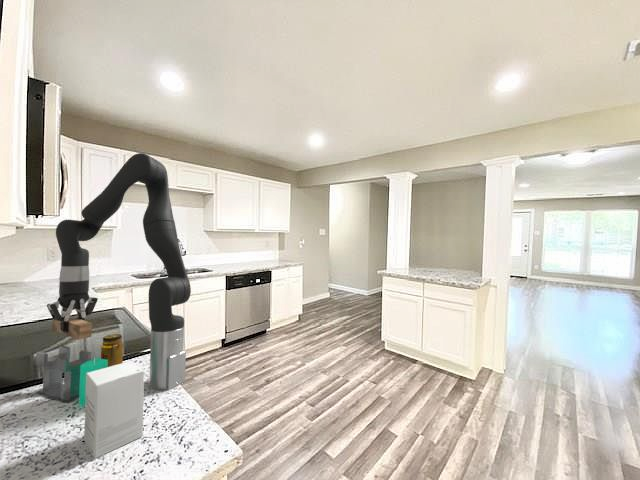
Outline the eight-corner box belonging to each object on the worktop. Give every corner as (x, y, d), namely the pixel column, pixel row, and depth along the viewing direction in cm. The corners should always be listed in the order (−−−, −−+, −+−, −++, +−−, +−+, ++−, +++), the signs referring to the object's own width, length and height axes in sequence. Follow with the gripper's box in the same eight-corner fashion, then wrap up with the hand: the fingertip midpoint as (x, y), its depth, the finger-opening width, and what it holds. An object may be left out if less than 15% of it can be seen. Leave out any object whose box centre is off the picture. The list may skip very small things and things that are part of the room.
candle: (90, 408, 74) (92, 362, 74) (72, 405, 75) (74, 360, 75) (112, 396, 79) (113, 354, 80) (94, 393, 81) (96, 352, 81)
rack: (90, 393, 81) (91, 352, 81) (64, 404, 75) (65, 360, 75) (60, 384, 86) (62, 345, 86) (34, 394, 80) (36, 352, 80)
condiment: (94, 373, 93) (95, 337, 94) (119, 363, 101) (120, 330, 102) (108, 377, 91) (109, 340, 91) (133, 367, 99) (134, 333, 99)
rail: (91, 336, 92) (92, 323, 92) (78, 340, 89) (80, 326, 89) (64, 326, 98) (65, 314, 98) (51, 329, 95) (53, 316, 94)
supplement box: (130, 420, 69) (132, 359, 69) (143, 436, 63) (145, 370, 63) (82, 440, 62) (85, 371, 62) (93, 460, 56) (95, 384, 56)
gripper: (55, 282, 86) (52, 338, 85) (104, 277, 99) (102, 326, 99) (41, 280, 88) (38, 335, 88) (91, 276, 102) (89, 324, 101)
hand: (72, 330), depth 93 cm, fingers closed on rail, 3 cm apart
